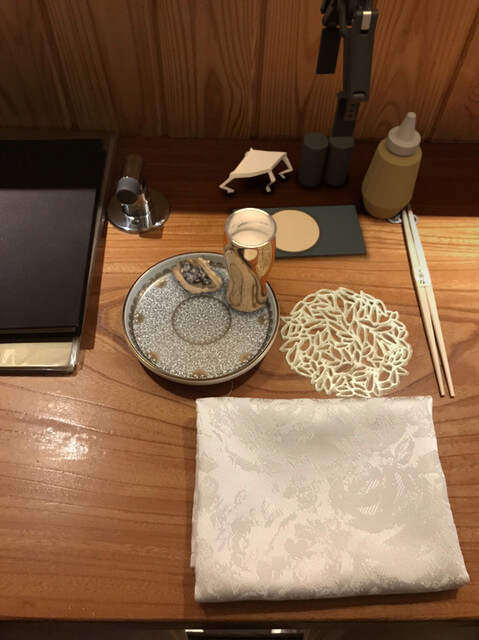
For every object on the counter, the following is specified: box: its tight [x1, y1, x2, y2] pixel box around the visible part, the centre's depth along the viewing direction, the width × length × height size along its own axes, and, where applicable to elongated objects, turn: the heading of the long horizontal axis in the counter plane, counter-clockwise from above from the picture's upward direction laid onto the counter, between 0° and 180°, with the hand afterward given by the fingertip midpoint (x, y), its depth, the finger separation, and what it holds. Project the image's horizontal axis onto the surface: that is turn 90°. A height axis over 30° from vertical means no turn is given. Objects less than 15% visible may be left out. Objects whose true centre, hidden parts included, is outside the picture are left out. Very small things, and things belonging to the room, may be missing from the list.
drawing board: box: [232, 204, 367, 260], centre depth 89 cm, size 20×10×1 cm, turn 94°
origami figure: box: [219, 147, 293, 194], centre depth 93 cm, size 12×8×5 cm
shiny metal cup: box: [222, 207, 277, 313], centre depth 76 cm, size 7×7×15 cm
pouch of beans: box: [170, 257, 223, 295], centre depth 84 cm, size 7×8×2 cm
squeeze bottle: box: [360, 111, 423, 220], centre depth 85 cm, size 8×8×18 cm
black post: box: [297, 132, 329, 188], centre depth 92 cm, size 4×4×8 cm
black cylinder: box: [322, 134, 356, 187], centre depth 93 cm, size 4×4×8 cm
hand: (333, 102), depth 79 cm, fingers open, 13 cm apart
